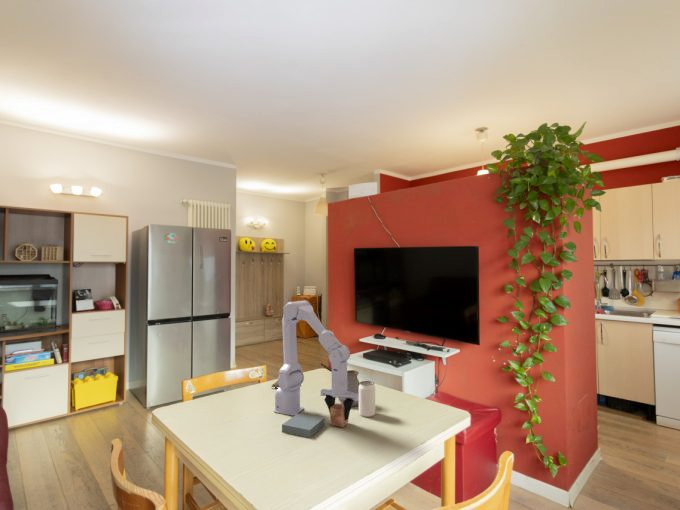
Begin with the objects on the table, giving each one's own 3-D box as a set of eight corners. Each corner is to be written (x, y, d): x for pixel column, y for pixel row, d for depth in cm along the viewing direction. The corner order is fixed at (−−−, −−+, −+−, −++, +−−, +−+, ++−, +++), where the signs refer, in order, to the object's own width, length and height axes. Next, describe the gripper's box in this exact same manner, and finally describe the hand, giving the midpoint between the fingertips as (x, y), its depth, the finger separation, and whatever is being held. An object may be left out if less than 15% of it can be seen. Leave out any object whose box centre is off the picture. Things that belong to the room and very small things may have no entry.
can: (374, 418, 139) (374, 386, 139) (357, 416, 140) (357, 385, 141) (376, 411, 145) (375, 380, 146) (360, 410, 146) (359, 380, 147)
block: (330, 424, 132) (330, 407, 132) (336, 419, 136) (336, 403, 137) (343, 427, 130) (343, 409, 130) (348, 421, 134) (348, 405, 135)
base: (281, 431, 127) (281, 424, 127) (297, 419, 137) (297, 413, 137) (309, 437, 123) (309, 430, 123) (324, 424, 133) (324, 417, 133)
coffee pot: (369, 400, 157) (368, 365, 158) (358, 409, 147) (357, 372, 148) (325, 393, 167) (325, 360, 167) (312, 401, 157) (312, 366, 157)
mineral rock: (282, 377, 185) (293, 375, 180) (284, 386, 184) (295, 384, 179) (266, 383, 176) (276, 381, 172) (267, 392, 176) (278, 391, 171)
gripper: (316, 380, 133) (316, 418, 132) (353, 385, 127) (354, 425, 127) (325, 375, 139) (325, 411, 139) (360, 380, 134) (361, 417, 133)
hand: (339, 417), depth 133 cm, fingers closed on block, 5 cm apart
